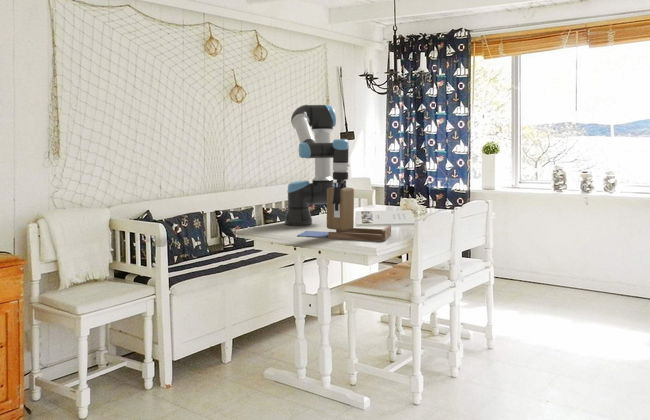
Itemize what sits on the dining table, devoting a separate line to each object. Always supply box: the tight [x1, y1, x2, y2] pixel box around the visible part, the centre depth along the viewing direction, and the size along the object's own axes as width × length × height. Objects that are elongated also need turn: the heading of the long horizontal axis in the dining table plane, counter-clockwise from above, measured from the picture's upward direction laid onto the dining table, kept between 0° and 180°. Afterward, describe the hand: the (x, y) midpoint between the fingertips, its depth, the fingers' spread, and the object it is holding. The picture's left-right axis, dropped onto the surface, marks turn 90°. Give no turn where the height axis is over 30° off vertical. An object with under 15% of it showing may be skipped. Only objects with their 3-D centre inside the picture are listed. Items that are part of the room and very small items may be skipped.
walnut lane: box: [327, 225, 392, 242], centre depth 309 cm, size 16×28×5 cm, turn 74°
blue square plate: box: [297, 230, 329, 239], centre depth 315 cm, size 14×14×1 cm
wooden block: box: [326, 186, 355, 231], centre depth 310 cm, size 10×10×20 cm
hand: (340, 215), depth 311 cm, fingers closed on wooden block, 12 cm apart
